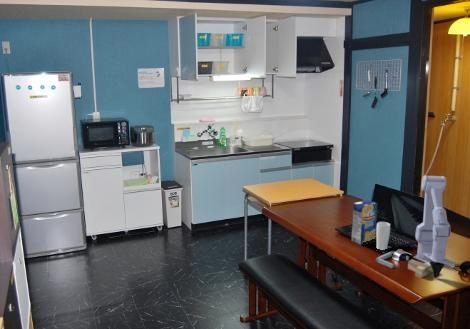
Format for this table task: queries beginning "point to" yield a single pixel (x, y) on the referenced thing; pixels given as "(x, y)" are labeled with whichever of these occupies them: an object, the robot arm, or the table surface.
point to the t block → (420, 268)
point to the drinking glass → (382, 235)
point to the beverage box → (364, 221)
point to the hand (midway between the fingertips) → (436, 276)
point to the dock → (381, 258)
